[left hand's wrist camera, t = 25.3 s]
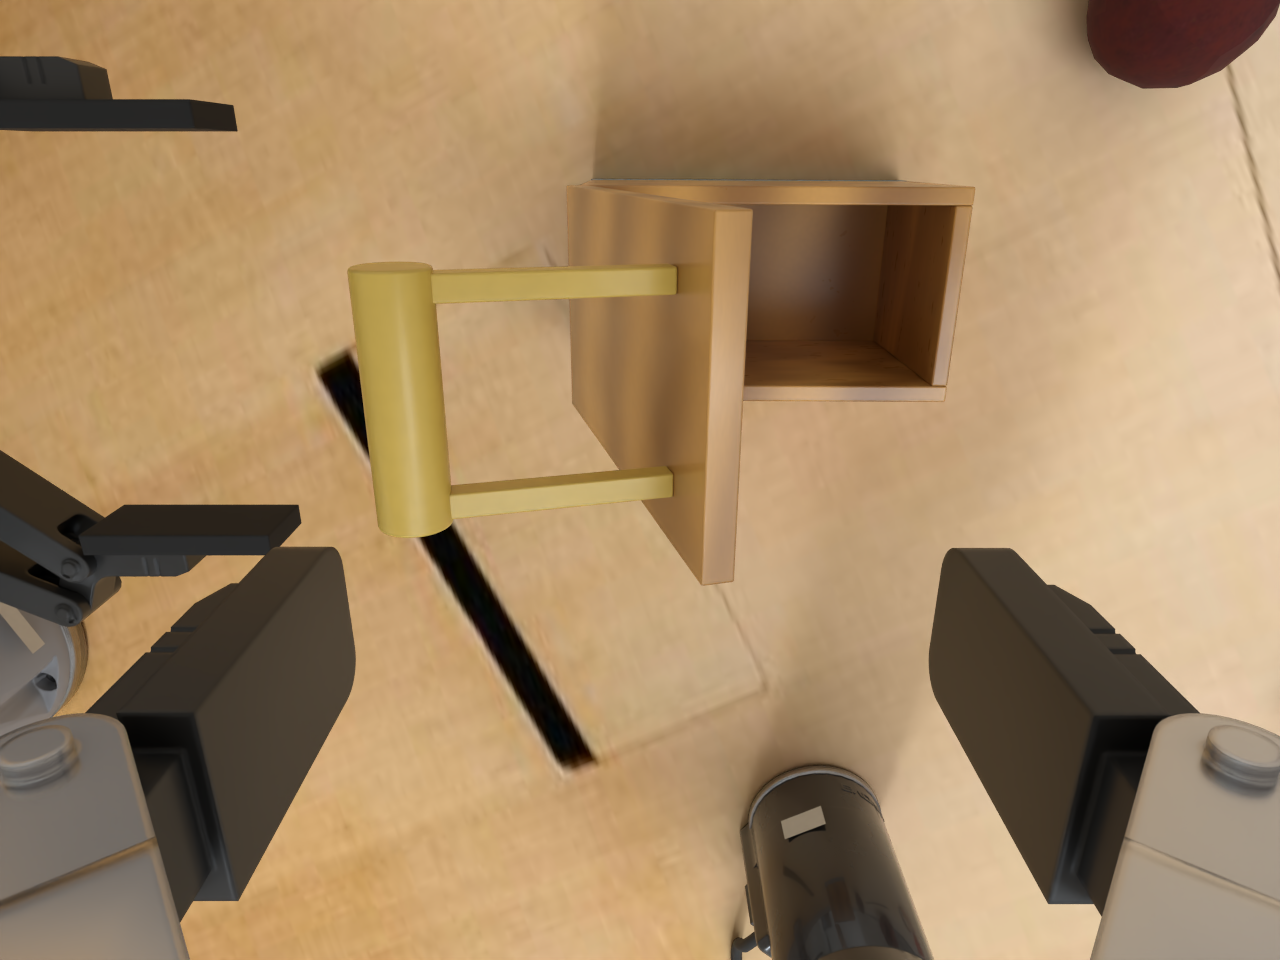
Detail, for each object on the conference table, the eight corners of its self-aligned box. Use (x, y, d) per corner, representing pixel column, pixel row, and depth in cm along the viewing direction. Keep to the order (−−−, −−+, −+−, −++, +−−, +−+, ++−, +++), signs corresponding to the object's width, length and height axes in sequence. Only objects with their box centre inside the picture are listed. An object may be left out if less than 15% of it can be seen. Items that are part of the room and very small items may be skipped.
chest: (900, 180, 44) (976, 186, 34) (881, 350, 47) (945, 402, 37) (592, 178, 44) (577, 184, 34) (595, 349, 47) (582, 400, 37)
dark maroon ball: (1140, -113, 39) (1241, -168, 32) (1248, -4, 41) (1365, -36, 34) (1028, 31, 41) (1102, 6, 35) (1135, 128, 43) (1225, 122, 36)
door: (754, 208, 18) (330, 213, 16) (734, 582, 21) (382, 628, 19) (588, 185, 34) (363, 185, 31) (592, 402, 37) (389, 416, 35)
